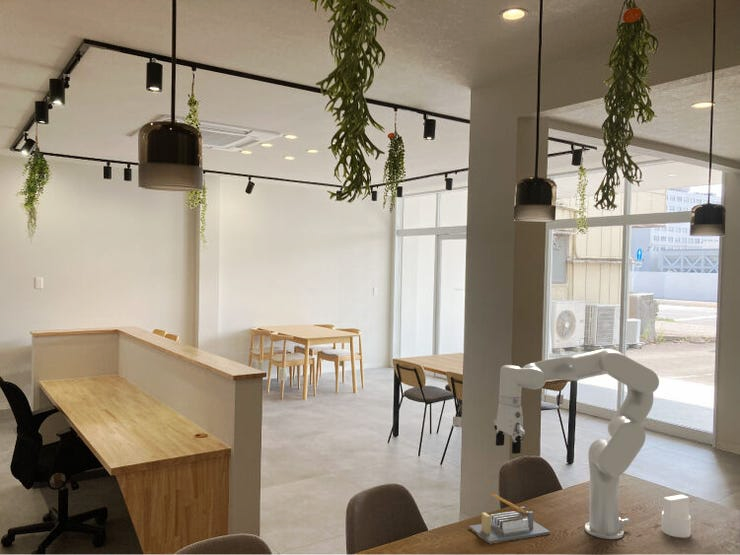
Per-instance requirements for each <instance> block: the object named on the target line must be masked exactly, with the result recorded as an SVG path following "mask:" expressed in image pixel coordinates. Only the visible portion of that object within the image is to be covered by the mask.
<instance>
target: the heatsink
mask: <svg viewBox="0 0 740 555" xmlns="http://www.w3.org/2000/svg"><path fill="white" fill-rule="evenodd" d="M490 516H491V527H493V528H494V529H495V530H497V531H498V532H499V533H501V534H502V535H503V536H507V535H513V534H519V533H525V532H529V527H528V519H525V517H526V516H525V517H522V515H520V512H517V511H515V510H514V511H513V510H512V511H505V512H499V513H494V514H492V513H491V514H490Z"/></svg>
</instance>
